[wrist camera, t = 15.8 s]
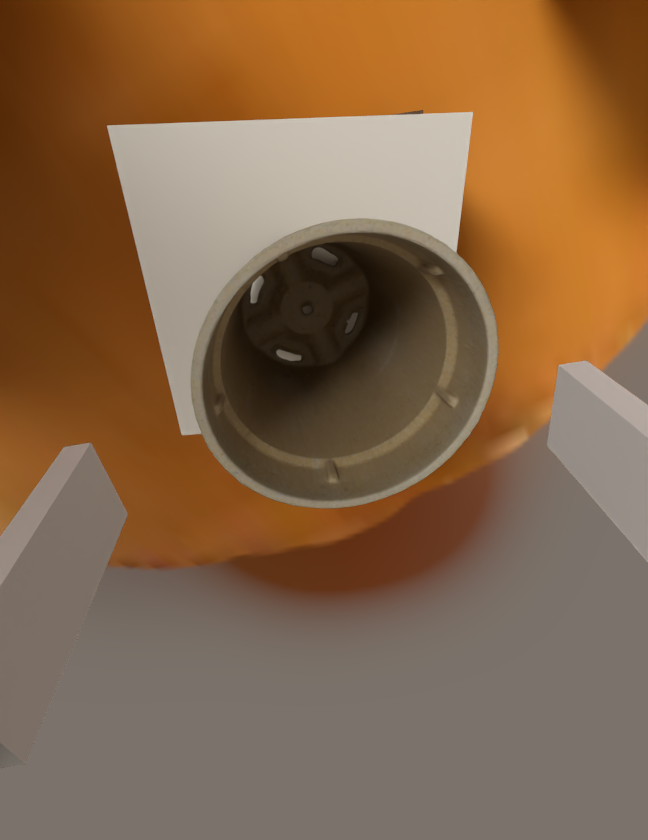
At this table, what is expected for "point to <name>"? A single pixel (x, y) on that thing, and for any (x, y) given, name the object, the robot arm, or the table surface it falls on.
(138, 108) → the table surface
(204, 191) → the tower top
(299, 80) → the table surface
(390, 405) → the flower pot
